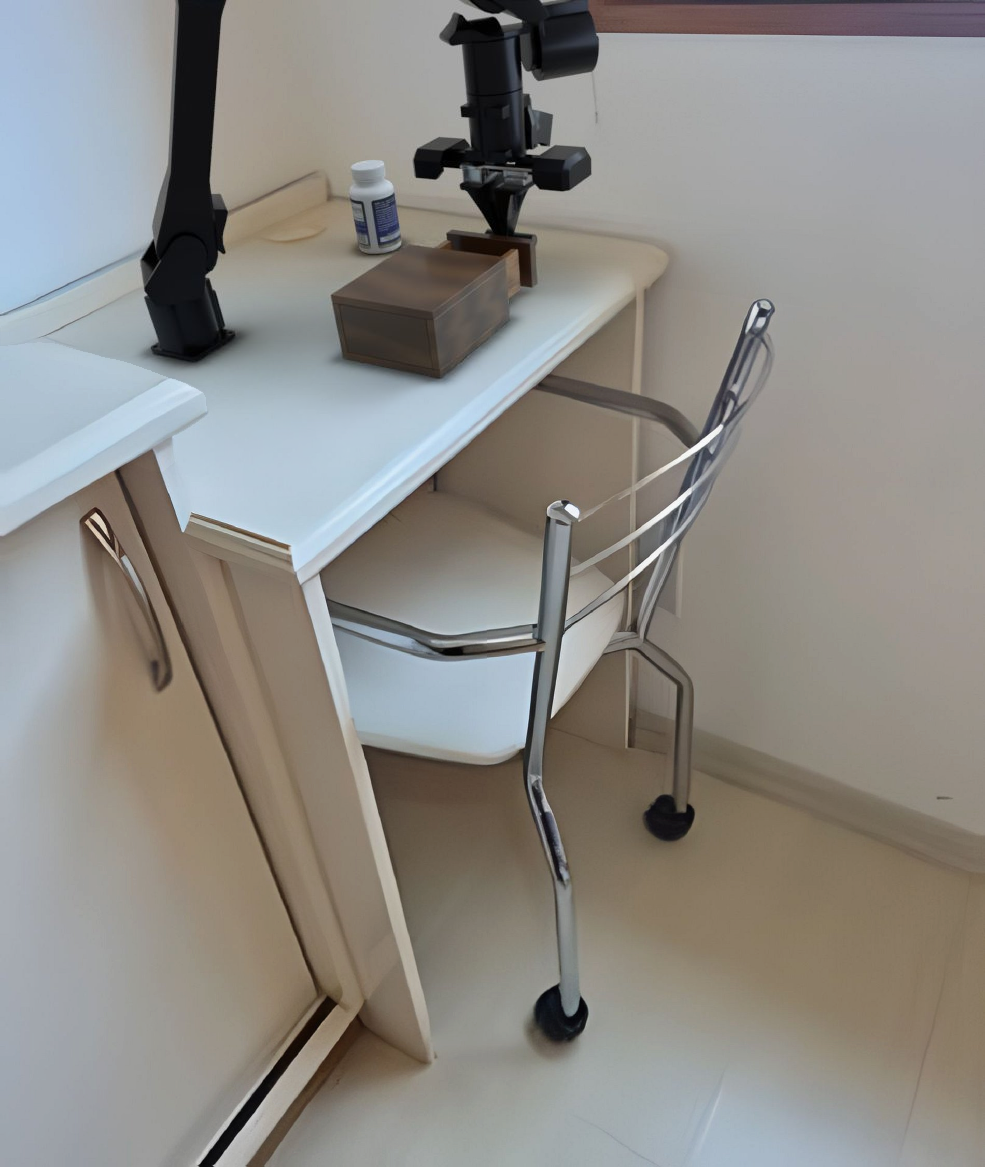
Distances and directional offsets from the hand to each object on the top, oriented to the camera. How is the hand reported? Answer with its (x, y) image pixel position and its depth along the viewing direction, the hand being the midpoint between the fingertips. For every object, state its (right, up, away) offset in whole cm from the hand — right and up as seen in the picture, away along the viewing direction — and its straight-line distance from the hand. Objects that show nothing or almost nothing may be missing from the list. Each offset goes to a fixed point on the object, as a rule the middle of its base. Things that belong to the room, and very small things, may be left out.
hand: (506, 244), depth 103 cm
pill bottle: (-15, +4, +13) cm, 21 cm away
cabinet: (-8, -13, -8) cm, 17 cm away
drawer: (-3, -6, -2) cm, 7 cm away
